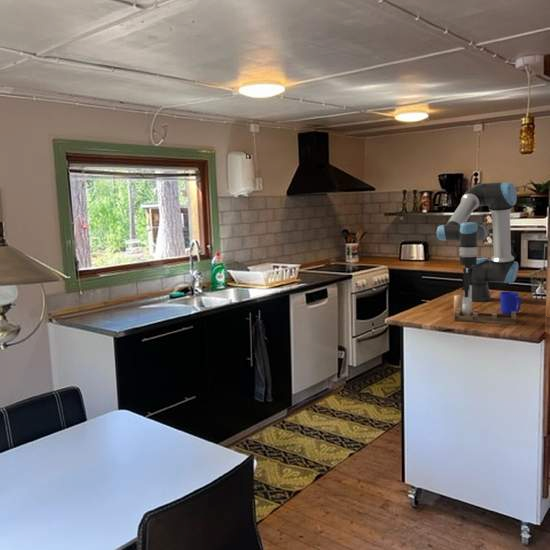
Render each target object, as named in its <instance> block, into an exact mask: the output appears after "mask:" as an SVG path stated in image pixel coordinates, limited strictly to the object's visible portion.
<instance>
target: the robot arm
mask: <svg viewBox="0 0 550 550" xmlns="http://www.w3.org/2000/svg"><path fill="white" fill-rule="evenodd" d="M517 196H518V195H517V191H516V187H515V185H514V184H513V183H511V182H504V181H503V182H486V183H485V182H484V183H483V182H482V183H478V184H476V185H475V186H472V187H471V188H469V189H468V190H466V192H465V193H464V194H462V197H461V199H460V203H459V205H458V206H457V208H456V209H455V211H454V212H453V214H452V215H451V216H450V218H449V219H448V221H447V223H446V224H442V225H438V226H437V229H436V238H437V239H438V240H439V241H445V242H459V248H458V251H459V265H461V266H464V268H463V269H462V271H463V287H462V288H461V291H463V292H462V296H463V304H470V298H472V302H489V301H491V300H492V295H491V292H490V289H489V283H502V284H512V283H514V282H515V281H516V279H517V276H518V272H519V263H518V261H515V257H514V256H513V255H512V244H511V243H512V240H511V211H512V210H513V208H514V206H515V205H516V204H517V200H518V199H517ZM482 206H487V207H488V210H489V211H490V212H491V216H492V217H491V219H492V221H491V222H492V241H493V255H492V257H490V259H489V257H477V256H478V242H480V241H482V240H485V238H486V237H487V232H488V231H487V229H486V227H485V226H483V225H481V224H478V222H474V221H473V222H472V221H471V222H470V221H469V222H467V221H468V219H469V218H470V216H471V215H472V213H473V212H474V210H476V209H478V208H479V207H482ZM463 304H462V305H463Z"/></svg>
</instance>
